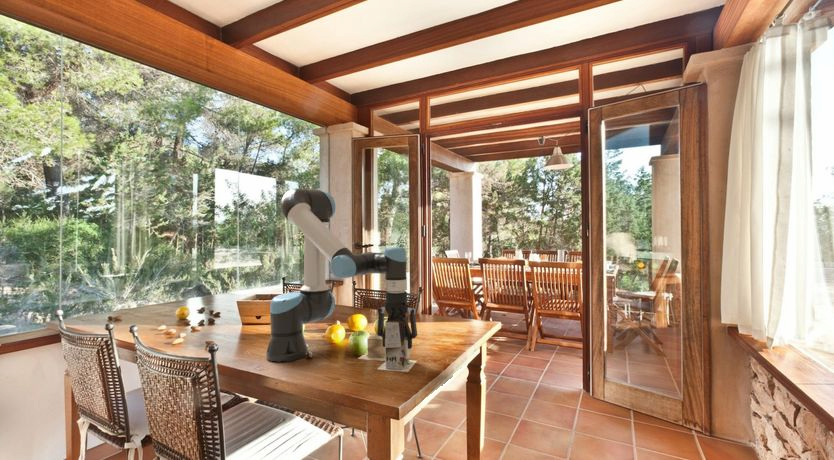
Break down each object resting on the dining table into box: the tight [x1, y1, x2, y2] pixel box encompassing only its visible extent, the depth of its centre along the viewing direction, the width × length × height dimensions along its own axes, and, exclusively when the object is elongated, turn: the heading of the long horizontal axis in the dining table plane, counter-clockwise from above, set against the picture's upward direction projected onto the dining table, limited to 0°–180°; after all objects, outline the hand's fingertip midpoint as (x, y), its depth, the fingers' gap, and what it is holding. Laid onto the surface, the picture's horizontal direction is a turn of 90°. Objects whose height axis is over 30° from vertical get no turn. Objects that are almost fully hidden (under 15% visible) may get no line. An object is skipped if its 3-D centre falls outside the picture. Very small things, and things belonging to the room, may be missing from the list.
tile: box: [377, 359, 418, 373], centre depth 130 cm, size 11×11×1 cm
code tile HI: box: [357, 353, 386, 362], centre depth 141 cm, size 11×11×1 cm
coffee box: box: [384, 315, 410, 370], centre depth 130 cm, size 9×6×16 cm
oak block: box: [366, 333, 385, 358], centre depth 141 cm, size 6×6×7 cm
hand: (397, 356), depth 130 cm, fingers closed on coffee box, 7 cm apart
